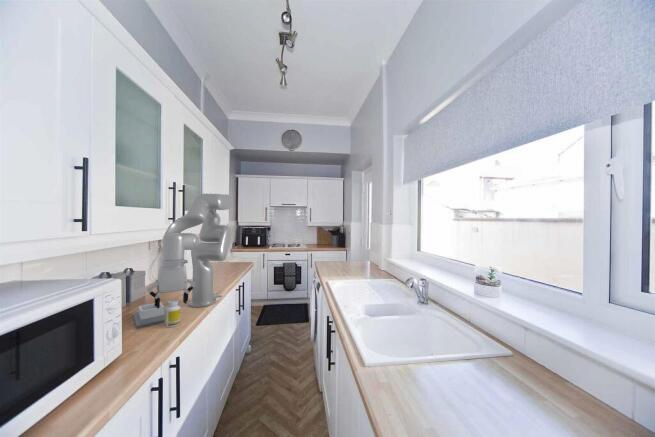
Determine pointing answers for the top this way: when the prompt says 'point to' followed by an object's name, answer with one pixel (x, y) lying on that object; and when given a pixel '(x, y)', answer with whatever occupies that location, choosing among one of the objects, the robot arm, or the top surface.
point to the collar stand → (149, 315)
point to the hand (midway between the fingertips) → (171, 305)
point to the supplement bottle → (172, 313)
